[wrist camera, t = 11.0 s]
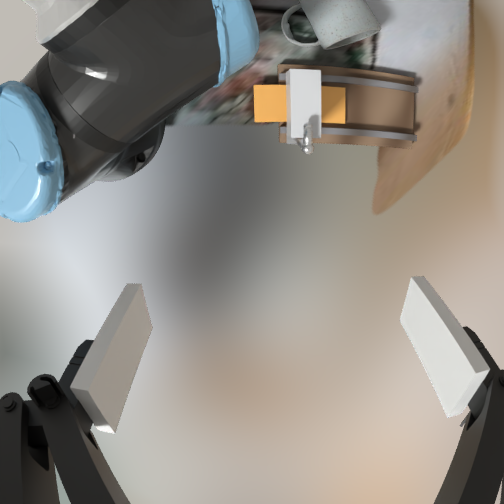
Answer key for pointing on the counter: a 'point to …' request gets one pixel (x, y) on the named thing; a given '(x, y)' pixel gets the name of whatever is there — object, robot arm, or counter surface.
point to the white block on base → (300, 102)
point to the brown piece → (365, 107)
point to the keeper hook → (303, 139)
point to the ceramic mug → (334, 22)
